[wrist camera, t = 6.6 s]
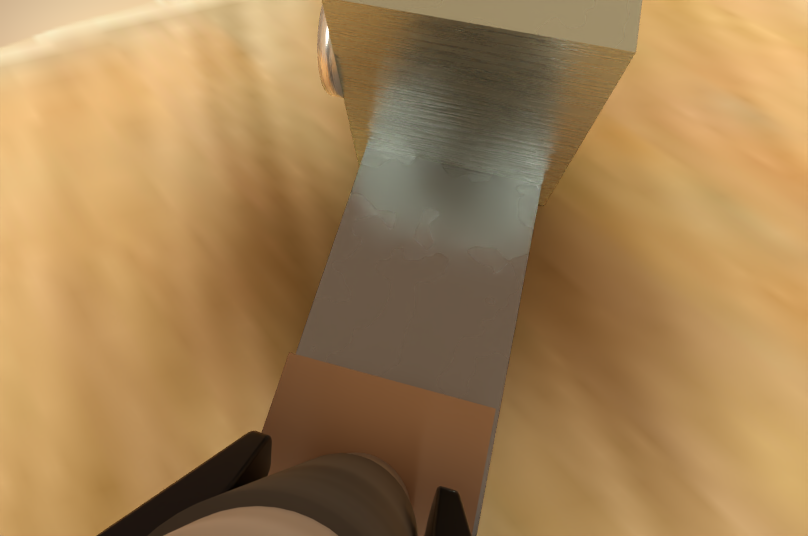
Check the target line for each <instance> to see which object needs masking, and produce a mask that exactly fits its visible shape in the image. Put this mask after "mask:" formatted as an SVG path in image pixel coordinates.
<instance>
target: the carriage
mask: <svg viewBox="0 0 808 536" xmlns="http://www.w3.org/2000/svg"><path fill="white" fill-rule="evenodd" d="M495 410H496V409H495V408H492V407H488V406H484V405H481V404H477V403H473V402H470V401H466V400H462V399H458V398H455V397H451V396H447V395H444V394H440V393H436V392H433V391H429V390H425V389H422V388H418V387H414V386H411V385H407V384H403V383H400V382H396V381H392V380H389V379H385V378H381V377H378V376H374V375H370V374H367V373H363V372H359V371H356V370H352V369H348V368H345V367H341V366H337V365H334V364H330V363H326V362H323V361H319V360H315V359H312V358H308V357H304V356H301V355H297V354H293V353H290V352H289V355H288V358H287V361H286V364H285V367H284V369H283V372H282V375H281V378H280V381H279V384H278V387H277V390H276V393H275V395H274V398H273V401H272V404H271V407H270V410H269V413H268V416H267V419H266V421H265V424H264V427H263V430H262V433H264V434H267V435H270V436H271V438H272V452H271V466H270V470H269V473H268V476H267V477H264V478H262V479H259V480H256V481H254V482H251V483H249V484H246V485H243V486H241V487H238V488H236V489H233V490H230V491H228V492H225V493H223V494H220V495H217V496H215V497H212V498H209V499H207V500H204V501H202V502H199V503H197V504H195V505H193V506H191V507H189V508H187V509H185V510H183V511H181V512H179V513H177V514H176V515H174V516H173V517H171V518H170V519H168V520H167V521H166V522H164V523H163V524H161V525H160V526H158V527H157V528H156V529H155V530H153V531H152V532H151V533H150V534H149V535H148V536H425V530H426V525H427V520H428V516H429V512H430V509H431V506H432V502H433V499H434V496H435V492H436V489H437V488H438V487H439V486H443V487H446V488H450V489H453V490H456V491H458V493H459V494H460V497H461V500H462V503H463V507H464V510H465V514H466V517H467V521H468V524H469V527H470V531H471V534H472V532H473V527H474V521H475V516H476V511H477V506H478V500H479V495H480V490H481V484H482V479H483V474H484V469H485V463H486V458H487V453H488V447H489V442H490V437H491V432H492V426H493V421H494V416H495Z"/></svg>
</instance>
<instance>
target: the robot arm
mask: <svg viewBox="0 0 808 536" xmlns="http://www.w3.org/2000/svg"><path fill="white" fill-rule="evenodd" d="M271 452H272V438H271V436H270V435H267V434H264V433H260V432H257V431H251V432H248V433H247V434H245V435H244V436H242V437H241V438H239V439H238V440H237V441H235V442H234V443H232V444H231V445H229V446H228V447H226V448H225V449H223V450H222V451H220V452H219V453H217V454H216V455H214V456H213V457H212V458H210V459H209V460H207V461H206V462H204V463H203V464H201V465H200V466H198V467H197V468H195V469H194V470H192V471H191V472H189V473H188V474H186V475H185V476H184V477H182V478H181V479H179V480H178V481H176V482H175V483H173V484H172V485H170V486H169V487H167V488H166V489H164V490H163V491H161V492H160V493H159V494H157V495H156V496H154V497H153V498H151V499H150V500H148V501H147V502H145V503H144V504H142V505H141V506H139V507H138V508H136V509H135V510H134V511H132V512H131V513H129V514H128V515H126V516H125V517H123V518H122V519H120V520H119V521H117V522H116V523H114V524H113V525H111V526H110V527H108V528H107V529H106V530H104V531H103V532H101V533H100V534H98V535H97V536H148V535H149V534H150V533H151V532H152V531H153V530H155V529H156V528H157V527H158V526H160V525H161V524H163V523H164V522H166V521H167V520H168V519H170V518H171V517H173V516H174V515H176V514H177V513H179V512H181V511H183V510H185V509H187V508H189V507H191V506H193V505H195V504H197V503H199V502H202V501H204V500H207V499H209V498H212V497H215V496H217V495H220V494H223V493H225V492H228V491H230V490H233V489H236V488H238V487H241V486H243V485H246V484H249V483H251V482H254V481H256V480H259V479H262V478H264V477H267V476H268V473H269V470H270V466H271ZM425 536H472V534H471V531H470V527H469V524H468V521H467V517H466V514H465V510H464V507H463V503H462V500H461V497H460V494H459V493H458V491H456V490H453V489H450V488H446V487H443V486H439V487H438V488H437V489H436V492H435V496H434V499H433V502H432V506H431V509H430V512H429V516H428V520H427V525H426V530H425Z"/></svg>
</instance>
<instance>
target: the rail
mask: <svg viewBox="0 0 808 536" xmlns="http://www.w3.org/2000/svg"><path fill="white" fill-rule="evenodd" d="M641 6H642V0H322V9H321V14H320V20H319V28H318V43H317V53H318V67H319V74H320V78H321V82H322V85H323V87H324V89H325V91H326V92H327V93H328V94H329V95H332V96H337V97H341V98H344V101H345V106H346V110H347V115H348V119H349V124H350V128H351V132H352V137H353V141H354V146H355V150H356V155H357V159H358V163H359V165H360V167H359V170H358V173H357V176H356V179H355V182H354V185H353V187H352V190H351V193H350V196H349V199H348V202H347V205H346V208H345V211H344V214H343V217H342V220H341V223H340V226H339V228H338V231H337V234H336V237H335V240H334V243H333V246H332V249H331V252H330V255H329V258H328V261H327V264H326V267H325V270H324V272H323V275H322V278H321V281H320V284H319V287H318V290H317V293H316V296H315V299H314V302H313V305H312V308H311V311H310V313H309V316H308V319H307V322H306V325H305V328H304V331H303V334H302V337H301V340H300V343H299V346H298V349H297V352H296V354H297V355H301V356H304V357H308V358H312V359H315V360H319V361H323V362H326V363H330V364H334V365H337V366H341V367H345V368H348V369H352V370H356V371H359V372H363V373H367V374H370V375H374V376H378V377H381V378H385V379H389V380H392V381H396V382H400V383H403V384H407V385H411V386H414V387H418V388H422V389H425V390H429V391H433V392H436V393H440V394H444V395H447V396H451V397H455V398H458V399H462V400H466V401H470V402H473V403H477V404H481V405H484V406H488V407H492V408H495V409H496V410H495V416H494V421H493V426H492V432H491V437H490V442H489V447H488V453H487V458H486V463H485V469H484V474H483V479H482V484H481V490H480V495H479V500H478V506H477V511H476V516H475V521H474V527H473V532H472V536H476V535H477V530H478V524H479V519H480V514H481V508H482V503H483V497H484V492H485V487H486V481H487V476H488V471H489V465H490V460H491V454H492V449H493V444H494V438H495V433H496V428H497V422H498V417H499V412H500V406H501V401H502V395H503V390H504V385H505V379H506V374H507V369H508V363H509V358H510V352H511V347H512V342H513V336H514V331H515V326H516V320H517V315H518V310H519V304H520V299H521V293H522V288H523V283H524V277H525V272H526V267H527V261H528V256H529V250H530V245H531V240H532V234H533V229H534V224H535V218H536V213H537V208H538V205H543V206H544V205H545V203H546V202H547V200H548V198H549V197H550V195H551V193H552V192H553V190H554V188H555V187H556V185H557V183H558V182H559V180H560V178H561V177H562V175H563V173H564V172H565V170H566V168H567V167H568V165H569V163H570V161H571V160H572V158H573V156H574V155H575V153H576V151H577V150H578V148H579V146H580V145H581V143H582V141H583V140H584V138H585V136H586V135H587V133H588V131H589V130H590V128H591V126H592V125H593V123H594V121H595V120H596V118H597V116H598V115H599V113H600V111H601V110H602V108H603V106H604V105H605V103H606V101H607V100H608V98H609V96H610V95H611V93H612V91H613V90H614V88H615V86H616V85H617V83H618V81H619V80H620V78H621V76H622V75H623V73H624V71H625V70H626V68H627V66H628V65H629V63H630V61H631V60H632V58H633V56H634V55H635V53H636V47H637V39H638V30H639V22H640V14H641Z"/></svg>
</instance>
